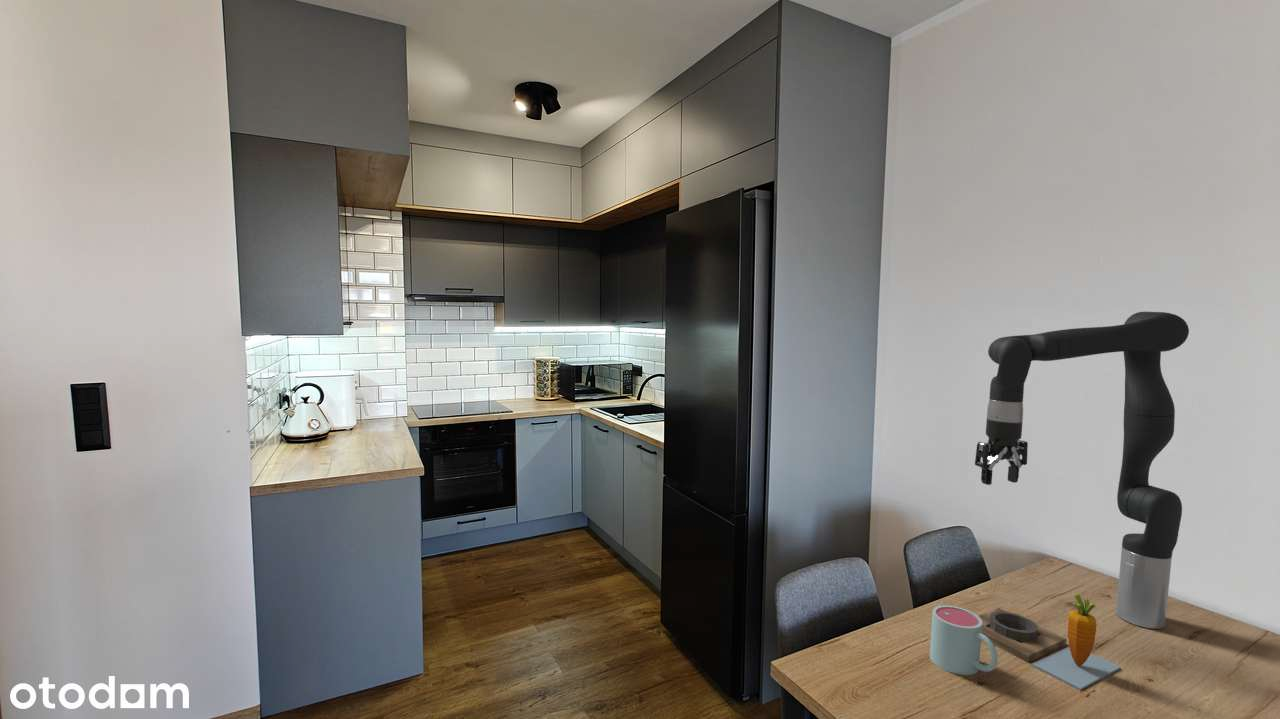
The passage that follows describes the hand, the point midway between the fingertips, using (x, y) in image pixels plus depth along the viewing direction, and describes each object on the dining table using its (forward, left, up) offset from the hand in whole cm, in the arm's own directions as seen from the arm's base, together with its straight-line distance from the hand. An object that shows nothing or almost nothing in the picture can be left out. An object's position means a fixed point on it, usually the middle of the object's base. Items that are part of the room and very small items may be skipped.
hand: (999, 482), depth 145 cm
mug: (+31, +13, -32) cm, 47 cm away
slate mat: (+9, +23, -32) cm, 41 cm away
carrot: (+9, +24, -32) cm, 41 cm away
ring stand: (+9, +10, -32) cm, 35 cm away
